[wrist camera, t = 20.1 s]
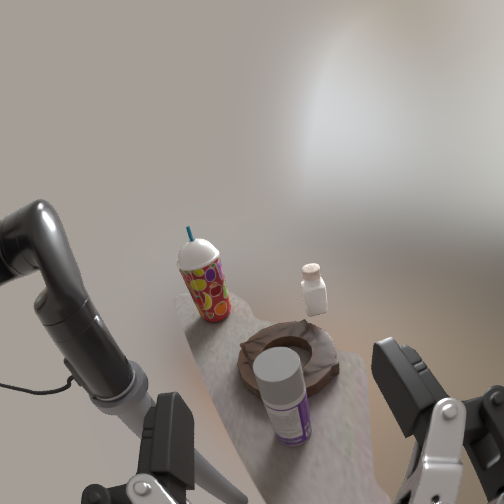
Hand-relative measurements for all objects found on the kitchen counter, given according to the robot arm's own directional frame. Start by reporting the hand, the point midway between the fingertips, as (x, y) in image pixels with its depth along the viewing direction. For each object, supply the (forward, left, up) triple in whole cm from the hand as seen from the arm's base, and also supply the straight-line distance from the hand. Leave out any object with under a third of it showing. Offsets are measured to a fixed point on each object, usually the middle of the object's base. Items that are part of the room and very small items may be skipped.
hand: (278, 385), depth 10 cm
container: (+2, +11, -26) cm, 28 cm away
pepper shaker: (+16, +33, -26) cm, 45 cm away
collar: (+6, +23, -26) cm, 35 cm away
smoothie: (-2, +43, -26) cm, 50 cm away
